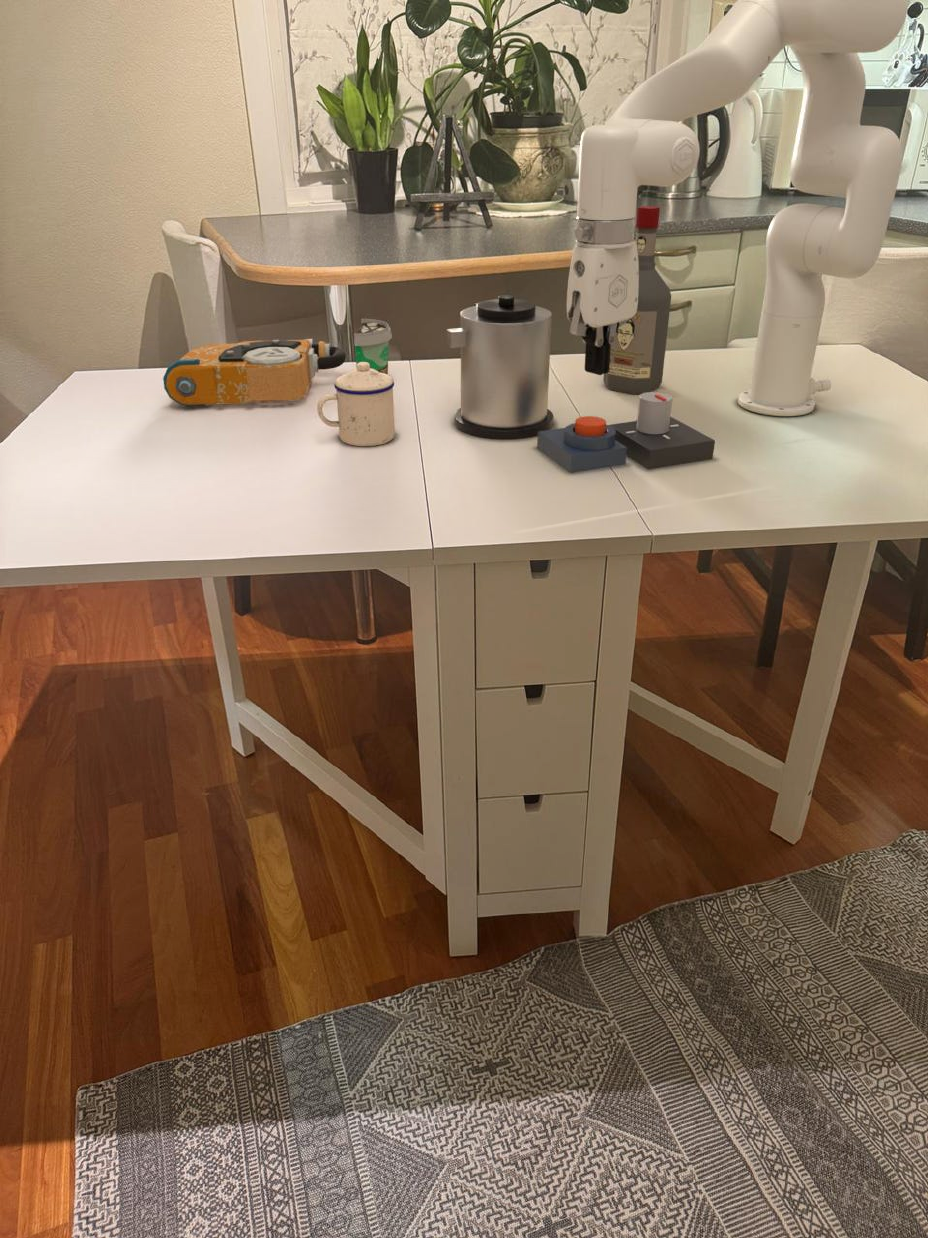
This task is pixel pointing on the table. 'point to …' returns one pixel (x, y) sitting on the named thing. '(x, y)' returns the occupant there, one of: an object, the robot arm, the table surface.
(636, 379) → the liquor
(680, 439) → the console
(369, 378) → the teacup with lid
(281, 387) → the device
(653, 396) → the dial
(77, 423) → the table surface
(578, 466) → the button housing
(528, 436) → the kettle
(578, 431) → the button
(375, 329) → the food container
